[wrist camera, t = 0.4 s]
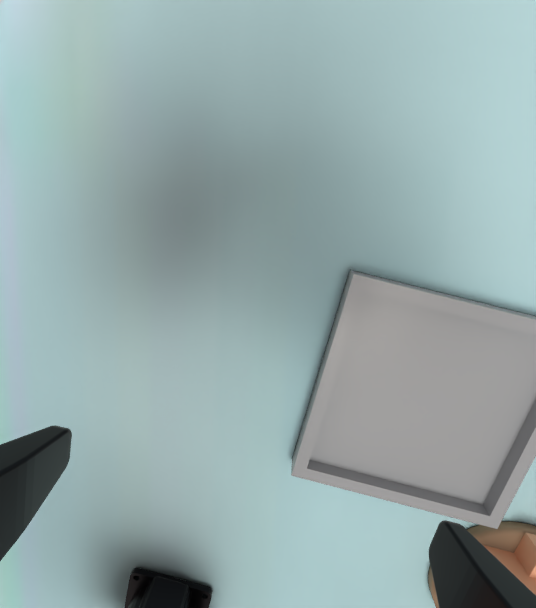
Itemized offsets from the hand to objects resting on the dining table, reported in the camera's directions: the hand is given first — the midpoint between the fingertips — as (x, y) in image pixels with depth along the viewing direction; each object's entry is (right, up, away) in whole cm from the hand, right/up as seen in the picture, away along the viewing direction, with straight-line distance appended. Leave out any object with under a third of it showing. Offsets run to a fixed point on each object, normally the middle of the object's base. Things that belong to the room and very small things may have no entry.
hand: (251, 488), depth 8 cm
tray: (+10, -2, +14) cm, 18 cm away
